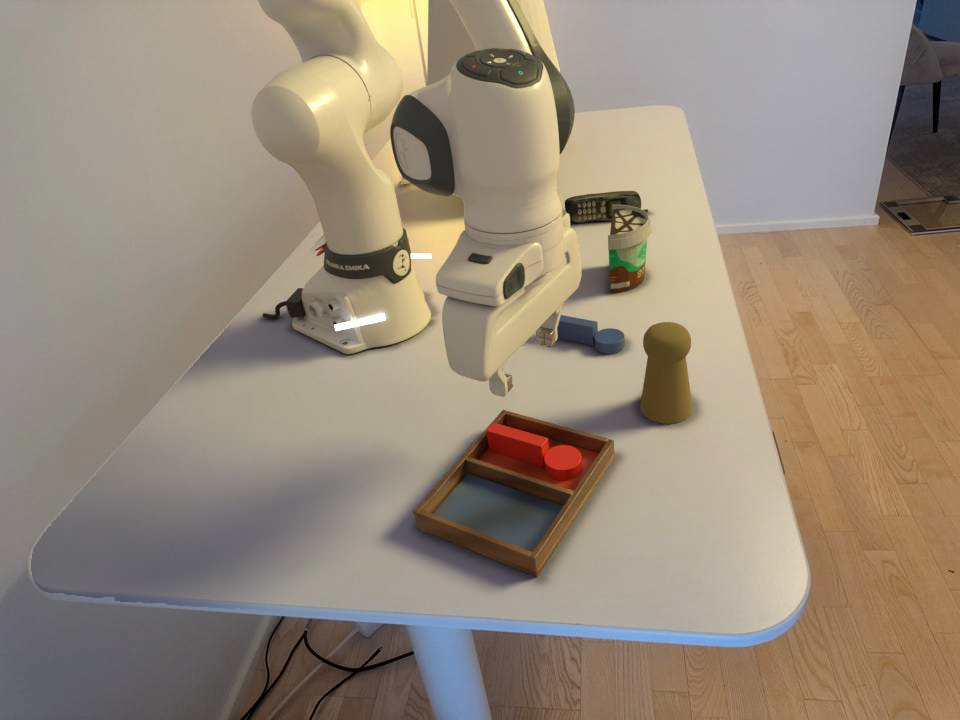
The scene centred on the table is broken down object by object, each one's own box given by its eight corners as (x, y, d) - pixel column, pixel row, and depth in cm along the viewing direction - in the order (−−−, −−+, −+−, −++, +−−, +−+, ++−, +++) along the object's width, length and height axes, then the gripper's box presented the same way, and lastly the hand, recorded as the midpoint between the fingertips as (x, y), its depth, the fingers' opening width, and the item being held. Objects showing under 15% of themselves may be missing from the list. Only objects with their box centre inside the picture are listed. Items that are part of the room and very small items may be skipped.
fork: (424, 155, 179) (423, 148, 178) (412, 190, 159) (410, 182, 158) (412, 156, 179) (410, 149, 178) (397, 192, 159) (396, 184, 158)
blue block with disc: (544, 340, 101) (542, 322, 99) (556, 326, 103) (555, 308, 102) (617, 356, 95) (617, 337, 93) (629, 341, 98) (628, 322, 96)
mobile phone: (564, 201, 129) (649, 191, 127) (563, 195, 132) (646, 185, 130) (566, 227, 132) (649, 217, 130) (566, 220, 135) (647, 210, 132)
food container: (651, 297, 107) (652, 235, 101) (609, 297, 108) (607, 236, 103) (652, 259, 116) (652, 201, 111) (613, 260, 118) (612, 203, 112)
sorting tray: (417, 529, 74) (413, 511, 72) (505, 426, 86) (503, 409, 84) (537, 577, 67) (535, 558, 65) (614, 458, 79) (614, 439, 77)
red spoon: (483, 457, 81) (480, 436, 79) (501, 436, 83) (498, 415, 82) (572, 485, 75) (570, 464, 73) (588, 461, 78) (587, 440, 76)
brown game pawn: (655, 387, 88) (655, 310, 82) (701, 401, 85) (705, 322, 79) (630, 413, 85) (628, 334, 79) (677, 430, 81) (679, 349, 75)
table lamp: (592, 183, 148) (583, -35, 126) (511, 229, 134) (485, -8, 112) (502, 167, 164) (479, -30, 142) (421, 206, 150) (382, -6, 128)
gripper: (539, 196, 74) (546, 311, 82) (422, 286, 60) (444, 414, 68) (595, 204, 71) (597, 323, 79) (485, 300, 57) (501, 432, 65)
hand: (525, 366), depth 73 cm, fingers open, 8 cm apart
